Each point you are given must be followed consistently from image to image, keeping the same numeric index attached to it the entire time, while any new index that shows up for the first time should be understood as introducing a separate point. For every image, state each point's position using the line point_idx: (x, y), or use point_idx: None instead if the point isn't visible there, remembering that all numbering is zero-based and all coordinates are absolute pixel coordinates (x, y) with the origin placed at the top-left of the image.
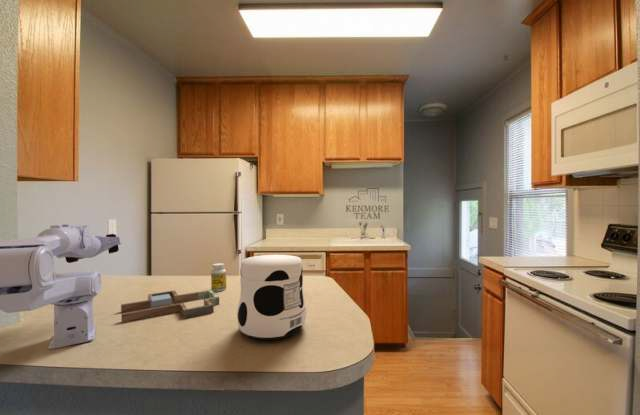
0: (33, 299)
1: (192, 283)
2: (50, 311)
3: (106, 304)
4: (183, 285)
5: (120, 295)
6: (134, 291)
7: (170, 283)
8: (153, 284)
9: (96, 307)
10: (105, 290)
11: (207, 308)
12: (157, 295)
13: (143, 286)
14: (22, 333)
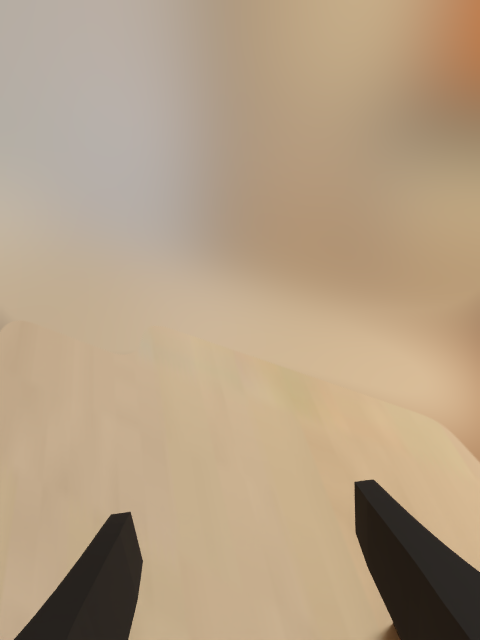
0: None
1: (442, 427)
2: (9, 599)
3: (220, 590)
4: (423, 438)
5: (243, 472)
6: (278, 442)
7: (363, 400)
8: (312, 390)
9: (187, 627)
10: (183, 395)
11: None
12: None
13: (288, 399)
14: None
